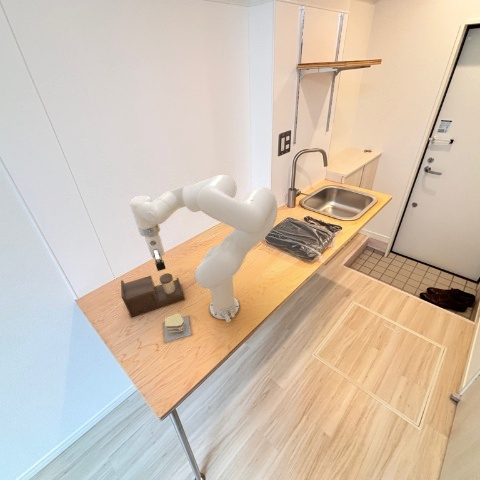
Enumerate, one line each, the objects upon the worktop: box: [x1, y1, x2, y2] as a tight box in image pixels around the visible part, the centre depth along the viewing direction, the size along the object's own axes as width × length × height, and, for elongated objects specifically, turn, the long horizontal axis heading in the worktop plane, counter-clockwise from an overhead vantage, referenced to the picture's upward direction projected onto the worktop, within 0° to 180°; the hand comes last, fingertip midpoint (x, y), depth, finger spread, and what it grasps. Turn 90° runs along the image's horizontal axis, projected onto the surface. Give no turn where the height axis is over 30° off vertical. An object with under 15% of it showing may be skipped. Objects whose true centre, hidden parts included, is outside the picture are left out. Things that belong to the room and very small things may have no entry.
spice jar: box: [159, 272, 176, 294], centre depth 109 cm, size 6×6×8 cm
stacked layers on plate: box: [163, 313, 192, 343], centre depth 97 cm, size 10×9×6 cm
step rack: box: [120, 275, 185, 318], centre depth 108 cm, size 10×23×13 cm, turn 113°
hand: (160, 262), depth 102 cm, fingers open, 9 cm apart
